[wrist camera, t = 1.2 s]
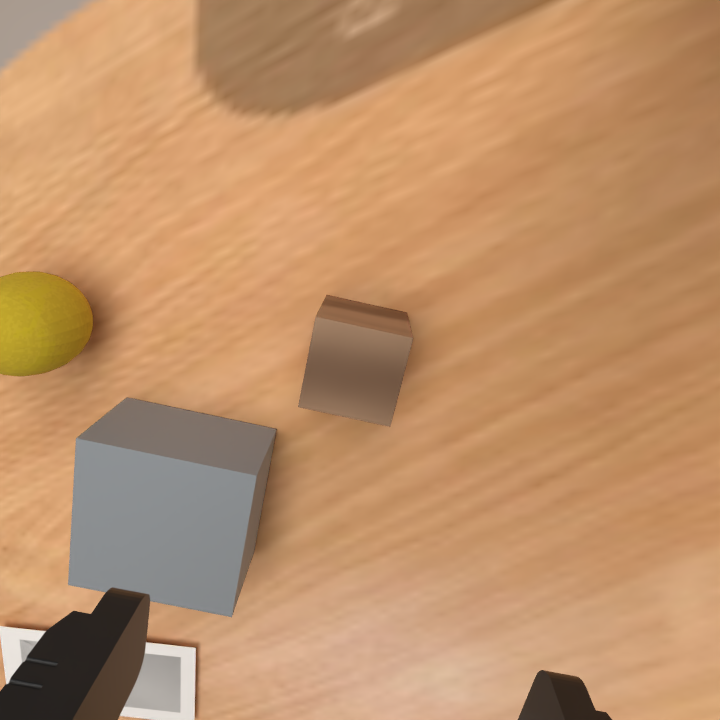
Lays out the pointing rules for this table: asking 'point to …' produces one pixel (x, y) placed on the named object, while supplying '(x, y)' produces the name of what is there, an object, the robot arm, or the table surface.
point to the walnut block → (356, 360)
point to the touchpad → (154, 683)
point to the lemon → (41, 323)
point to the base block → (168, 504)
